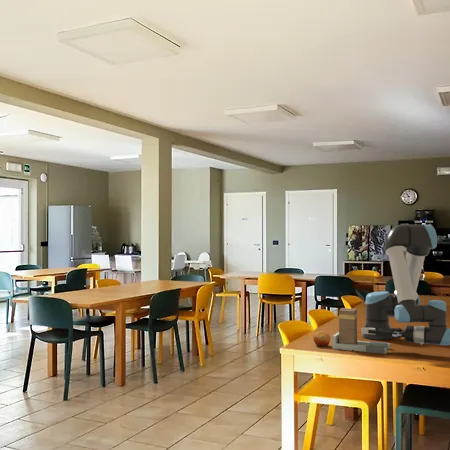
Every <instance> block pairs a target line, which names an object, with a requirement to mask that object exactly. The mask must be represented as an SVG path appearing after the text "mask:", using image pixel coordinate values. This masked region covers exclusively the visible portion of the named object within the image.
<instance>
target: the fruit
mask: <svg viewBox="0 0 450 450" xmlns="http://www.w3.org/2000/svg"><path fill="white" fill-rule="evenodd" d="M330 341H331V336H330V333H328V332H326V331H325V330H320V331H316V332H315V333H314V334H313V342H314V344H315V345H316V346H317V347H328V346H329V345H330Z"/></svg>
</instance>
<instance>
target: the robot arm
mask: <svg viewBox="0 0 450 450" xmlns="http://www.w3.org/2000/svg"><path fill="white" fill-rule="evenodd" d="M437 244H438V235H437V232H436V229H435V228H434V226H433V225H431V224H424V223H423V224H397V225H396V226H393V228H391V229H390V230H389V231H388V233H387V234H386V238H385V240H384V250H385V254H386V255H387V256H388V260H389V265H390V269H391V274H392V279H393V284H394V289H395V290H394V292H393V293H390V292H389V291H385V290H383V291H374V292H373V291H372V292H370V293H367V295H366V296H365V324H364V327H361V331H360V333H361V335H362V338H364V339H368V340H373V341H375V340H376V341H387V340H392V339H402V338H404V341H405V342H406V343H411V344H413V343H415V344H420V346H421V345H423V344H425V345H426V344H427V345H435V346H436V345H437V346H450V328H449V327H447V312H448V311H447V303H446V301H443V300H439V299H432V300H428V302H427V304H421V298H420V296H419V295H418V292H417V289H418V286H419V281H420V277H421V274H422V270H423V265H424V261H425V259H426V258H425V257H426V256H427V257H428V255H429V254H430V252H431V250H435V249H436V248H437V246H438V245H437ZM390 317H391V318H394V319H395V320H396V322H398V323H406V325H405V326H404V329H402V328H401V327H391V324H390ZM408 323H428V326H425V325H424V326H423V325H407V324H408Z"/></svg>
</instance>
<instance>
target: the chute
mask: <svg viewBox="0 0 450 450" xmlns="http://www.w3.org/2000/svg"><path fill="white" fill-rule="evenodd" d="M332 349H333V350H340V349H341V351H352V350H354V352H363V351H364V352H365V353H370V354H371V353H372V354H379V355H380V354H383V355H384V354H385V355H387V353H388V350H391V343H389V342H386V341H385V342H384V341H383V342H381V341H374V340H372V341H366V340H365V341H362V340H357V345H353V344H341V343H339V331H337V332H336V333H335V334H333V335H332Z"/></svg>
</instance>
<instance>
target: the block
mask: <svg viewBox="0 0 450 450" xmlns="http://www.w3.org/2000/svg"><path fill="white" fill-rule="evenodd" d="M338 326H339V327H338V332H339V343H341V344H353V345H357V341H358V309H357V308H341V309H339V310H338Z"/></svg>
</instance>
